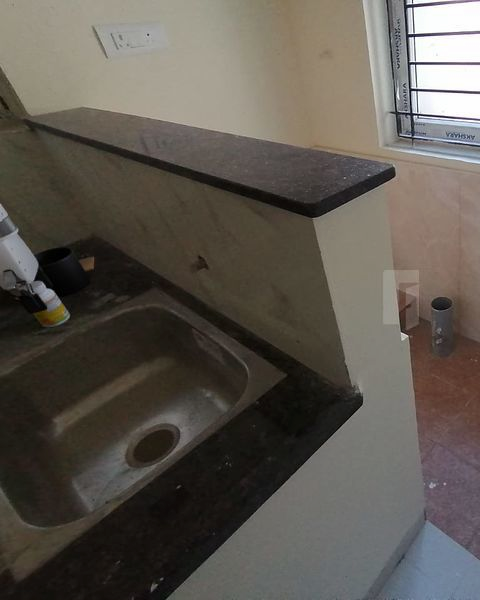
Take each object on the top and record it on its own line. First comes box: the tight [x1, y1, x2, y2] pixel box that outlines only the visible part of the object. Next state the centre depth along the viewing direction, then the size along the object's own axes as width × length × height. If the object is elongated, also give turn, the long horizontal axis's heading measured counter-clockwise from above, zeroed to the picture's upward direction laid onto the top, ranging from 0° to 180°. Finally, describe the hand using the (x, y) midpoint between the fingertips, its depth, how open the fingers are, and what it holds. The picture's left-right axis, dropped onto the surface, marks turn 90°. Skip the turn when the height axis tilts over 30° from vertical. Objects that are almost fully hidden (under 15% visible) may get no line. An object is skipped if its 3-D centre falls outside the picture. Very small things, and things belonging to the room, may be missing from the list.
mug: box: [22, 246, 91, 298], centre depth 96 cm, size 9×12×9 cm
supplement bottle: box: [20, 281, 71, 328], centre depth 86 cm, size 5×5×10 cm
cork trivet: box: [78, 256, 95, 272], centre depth 107 cm, size 7×7×1 cm
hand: (42, 299), depth 85 cm, fingers open, 9 cm apart
